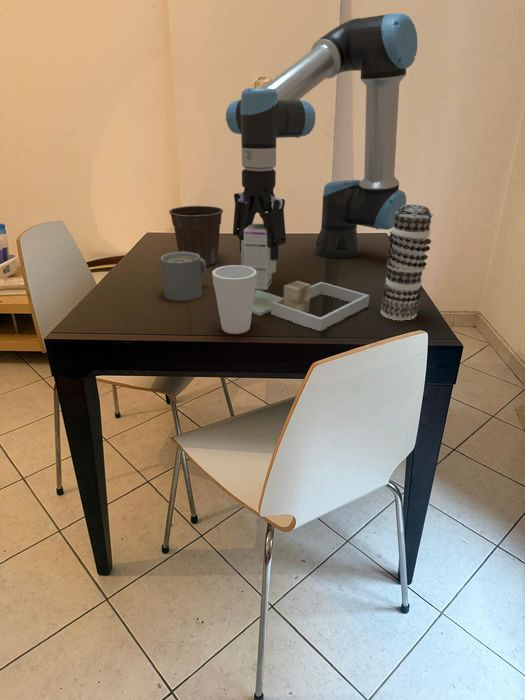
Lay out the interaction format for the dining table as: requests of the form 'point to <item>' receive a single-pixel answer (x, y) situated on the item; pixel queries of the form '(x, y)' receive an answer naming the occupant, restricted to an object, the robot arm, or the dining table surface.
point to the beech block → (297, 296)
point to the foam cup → (235, 296)
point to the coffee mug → (182, 275)
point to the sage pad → (263, 302)
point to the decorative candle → (406, 262)
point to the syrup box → (257, 253)
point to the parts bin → (321, 323)
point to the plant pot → (198, 231)
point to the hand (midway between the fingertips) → (258, 269)
